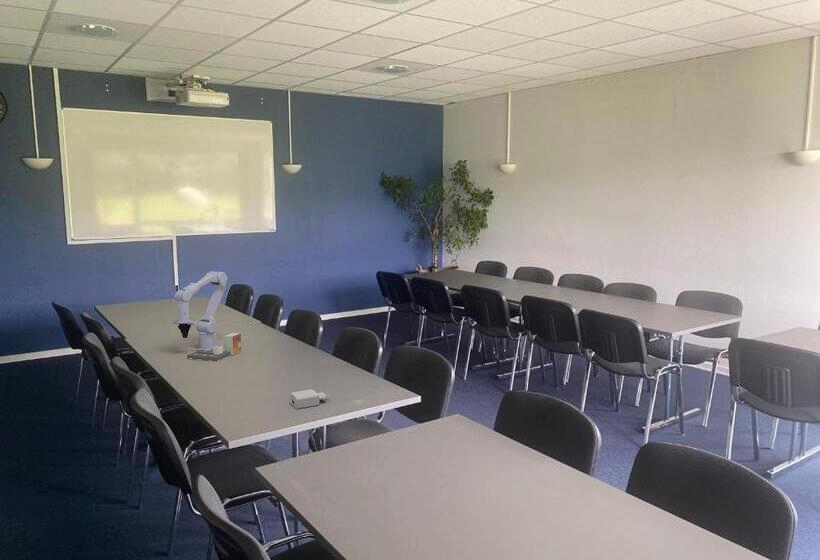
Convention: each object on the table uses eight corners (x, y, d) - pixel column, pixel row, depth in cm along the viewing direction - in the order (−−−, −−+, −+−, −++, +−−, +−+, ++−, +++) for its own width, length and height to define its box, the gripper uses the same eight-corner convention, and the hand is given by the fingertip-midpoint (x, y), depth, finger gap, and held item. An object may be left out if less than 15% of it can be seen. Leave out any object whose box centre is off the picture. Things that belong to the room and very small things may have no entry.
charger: (332, 403, 242) (296, 409, 236) (325, 397, 251) (290, 403, 244) (332, 392, 242) (296, 398, 235) (324, 386, 250) (289, 391, 243)
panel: (201, 353, 325) (201, 349, 324) (230, 355, 319) (230, 351, 319) (187, 358, 313) (187, 354, 313) (216, 361, 308) (216, 357, 308)
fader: (218, 352, 317) (217, 345, 316) (223, 352, 316) (222, 345, 315) (213, 354, 313) (213, 347, 312) (218, 354, 312) (218, 347, 311)
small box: (233, 355, 319) (232, 336, 317) (224, 354, 321) (223, 335, 319) (241, 352, 326) (241, 333, 325) (233, 351, 328) (232, 332, 327)
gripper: (167, 313, 317) (168, 338, 319) (190, 314, 313) (191, 340, 314) (176, 311, 324) (177, 335, 325) (198, 312, 319) (200, 337, 321)
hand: (185, 337), depth 320 cm, fingers closed
